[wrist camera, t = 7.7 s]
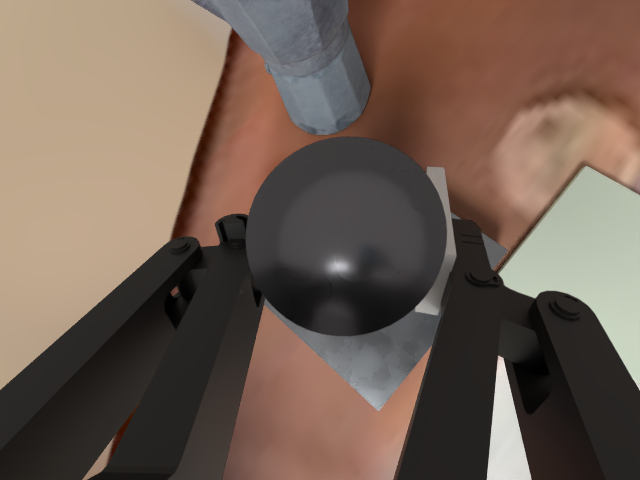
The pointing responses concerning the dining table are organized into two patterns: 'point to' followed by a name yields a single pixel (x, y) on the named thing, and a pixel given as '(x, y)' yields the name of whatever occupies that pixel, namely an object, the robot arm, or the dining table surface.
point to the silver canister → (346, 236)
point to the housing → (381, 346)
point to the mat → (588, 257)
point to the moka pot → (304, 56)
